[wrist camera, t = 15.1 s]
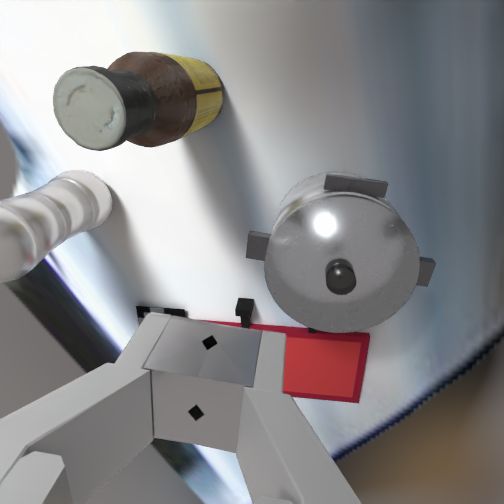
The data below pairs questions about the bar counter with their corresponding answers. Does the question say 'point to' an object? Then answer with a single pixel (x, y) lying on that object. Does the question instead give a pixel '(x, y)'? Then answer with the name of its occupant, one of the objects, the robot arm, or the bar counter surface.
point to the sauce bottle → (137, 100)
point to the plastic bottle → (49, 219)
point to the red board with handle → (306, 356)
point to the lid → (341, 263)
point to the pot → (324, 187)
